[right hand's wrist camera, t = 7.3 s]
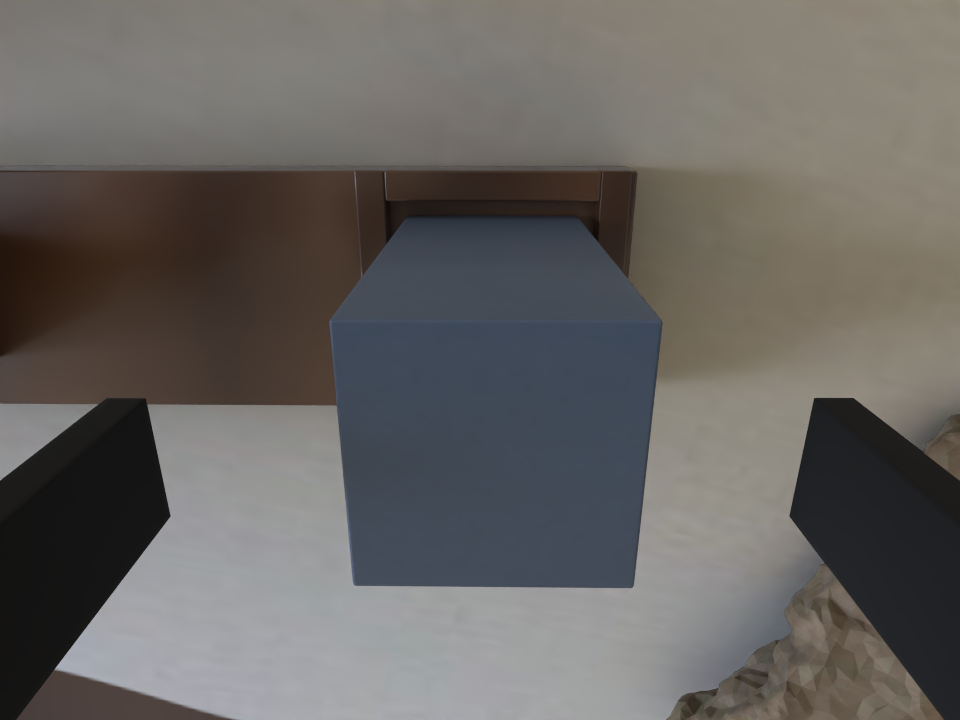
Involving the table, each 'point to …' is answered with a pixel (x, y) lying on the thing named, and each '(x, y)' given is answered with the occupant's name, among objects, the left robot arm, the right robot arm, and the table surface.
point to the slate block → (494, 406)
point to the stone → (825, 655)
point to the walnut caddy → (229, 268)
